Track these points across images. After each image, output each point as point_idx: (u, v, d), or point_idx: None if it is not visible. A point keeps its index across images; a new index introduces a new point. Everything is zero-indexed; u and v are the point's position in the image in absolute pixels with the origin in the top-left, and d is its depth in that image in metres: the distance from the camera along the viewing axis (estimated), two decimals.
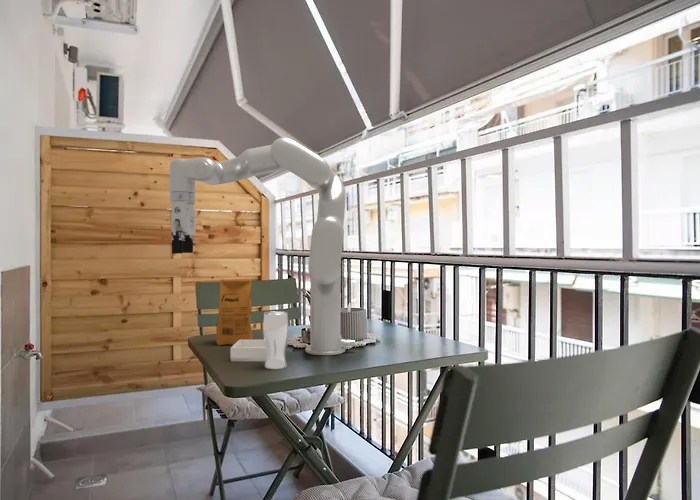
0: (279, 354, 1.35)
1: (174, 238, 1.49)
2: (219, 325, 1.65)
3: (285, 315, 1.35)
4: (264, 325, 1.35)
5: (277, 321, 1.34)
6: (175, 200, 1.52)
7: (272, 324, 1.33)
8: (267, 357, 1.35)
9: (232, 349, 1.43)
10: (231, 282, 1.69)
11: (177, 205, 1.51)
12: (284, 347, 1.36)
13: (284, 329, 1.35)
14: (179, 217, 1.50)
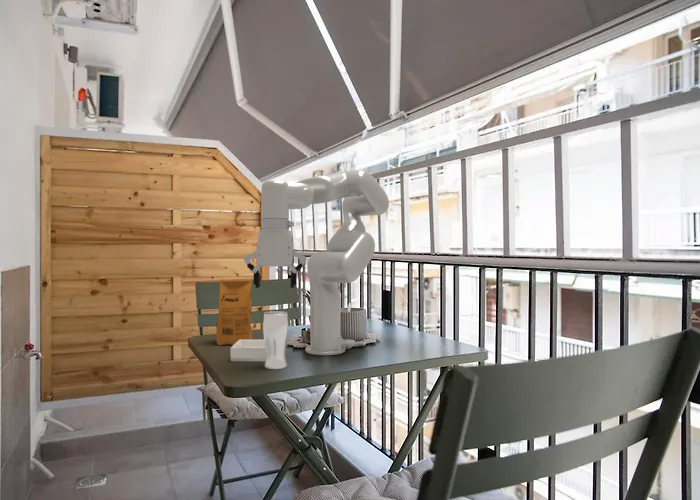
0: (279, 354, 1.35)
1: None
2: (219, 325, 1.65)
3: (285, 315, 1.35)
4: (264, 325, 1.35)
5: (277, 321, 1.34)
6: (287, 228, 1.35)
7: (272, 324, 1.33)
8: (267, 357, 1.35)
9: (232, 349, 1.43)
10: (231, 282, 1.69)
11: (291, 234, 1.36)
12: (284, 347, 1.36)
13: (284, 329, 1.35)
14: (293, 247, 1.37)
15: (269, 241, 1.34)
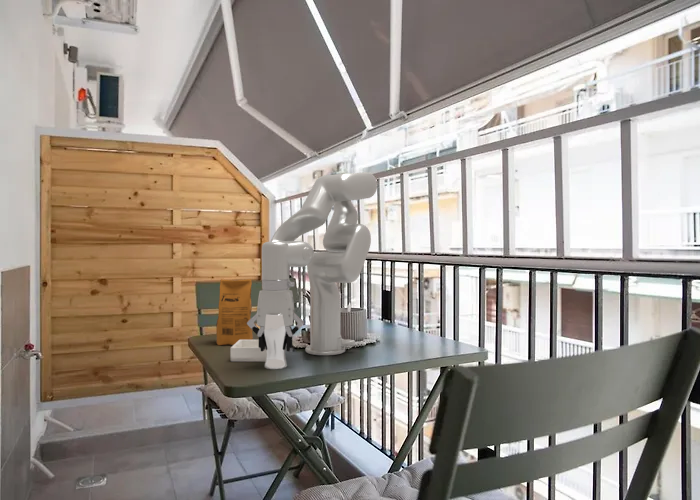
0: (279, 354, 1.35)
1: (293, 334, 1.36)
2: (219, 325, 1.65)
3: None
4: (264, 325, 1.35)
5: (277, 321, 1.34)
6: (288, 289, 1.36)
7: (272, 324, 1.33)
8: (267, 357, 1.35)
9: (232, 349, 1.43)
10: (231, 282, 1.69)
11: (292, 294, 1.37)
12: (284, 347, 1.36)
13: (284, 329, 1.35)
14: (293, 307, 1.37)
15: (269, 302, 1.34)
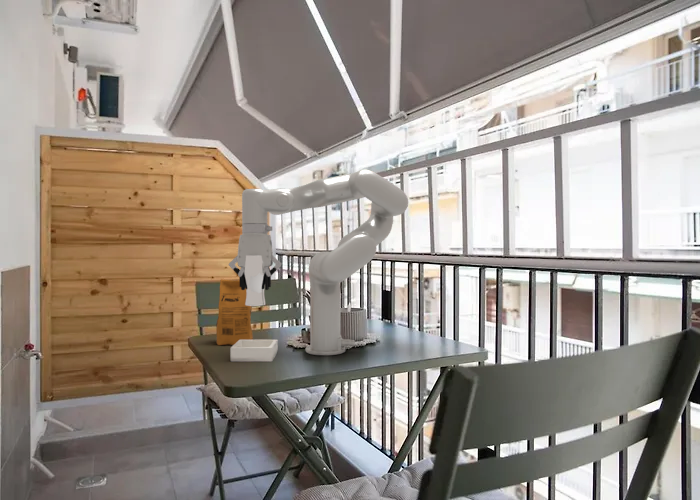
0: (258, 292, 1.46)
1: None
2: (219, 325, 1.65)
3: None
4: (244, 265, 1.46)
5: (256, 261, 1.45)
6: (266, 232, 1.47)
7: (251, 264, 1.45)
8: (247, 295, 1.47)
9: (232, 349, 1.43)
10: (231, 282, 1.69)
11: (270, 238, 1.48)
12: (263, 286, 1.47)
13: (262, 269, 1.46)
14: None
15: (249, 244, 1.46)
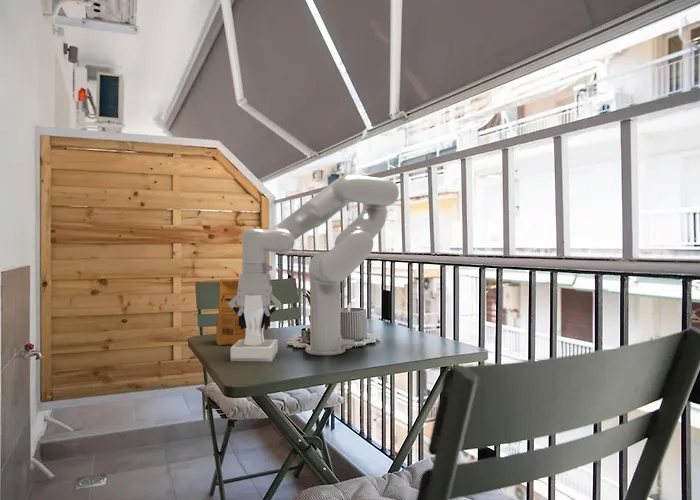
0: (257, 332, 1.47)
1: (271, 313, 1.48)
2: (219, 325, 1.65)
3: None
4: None
5: (255, 301, 1.45)
6: (266, 272, 1.48)
7: (251, 304, 1.45)
8: (246, 335, 1.47)
9: (232, 349, 1.43)
10: (231, 282, 1.69)
11: (270, 277, 1.49)
12: (262, 326, 1.48)
13: (262, 309, 1.47)
14: (271, 289, 1.49)
15: (248, 284, 1.46)
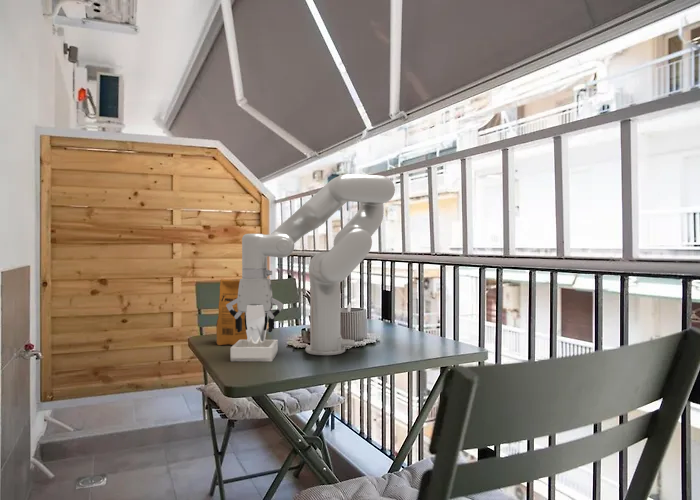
0: (259, 342, 1.47)
1: (275, 316, 1.48)
2: (219, 325, 1.65)
3: None
4: (245, 315, 1.47)
5: (257, 311, 1.46)
6: (266, 277, 1.48)
7: (252, 314, 1.45)
8: (248, 344, 1.47)
9: (232, 349, 1.43)
10: (231, 282, 1.69)
11: (270, 282, 1.49)
12: (264, 335, 1.48)
13: (264, 319, 1.47)
14: (271, 294, 1.49)
15: (248, 289, 1.46)
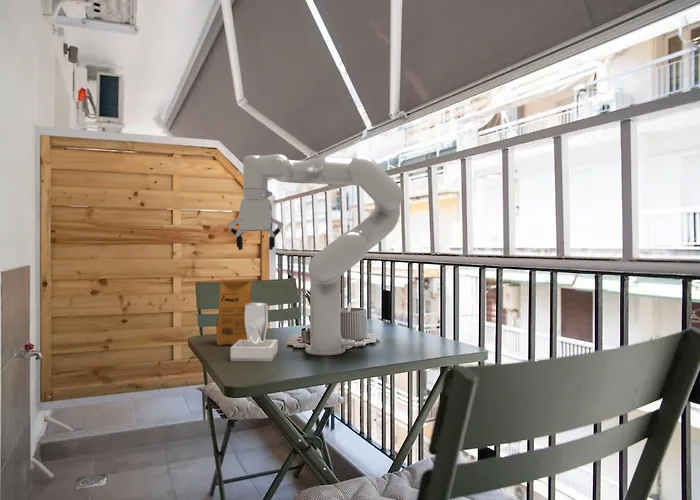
0: (259, 342, 1.47)
1: (275, 235, 1.55)
2: (219, 325, 1.65)
3: (265, 306, 1.47)
4: (245, 315, 1.47)
5: (257, 311, 1.46)
6: (266, 197, 1.54)
7: (252, 314, 1.45)
8: (248, 344, 1.47)
9: (232, 349, 1.43)
10: (231, 282, 1.69)
11: (270, 203, 1.55)
12: (264, 335, 1.48)
13: (264, 319, 1.47)
14: (271, 215, 1.56)
15: (249, 208, 1.53)
